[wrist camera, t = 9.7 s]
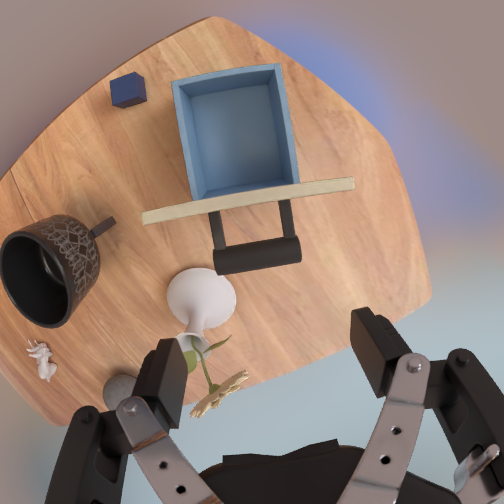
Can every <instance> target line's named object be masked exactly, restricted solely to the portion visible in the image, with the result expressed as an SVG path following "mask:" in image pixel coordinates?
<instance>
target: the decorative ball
mask: <svg viewBox="0 0 504 504" xmlns="http://www.w3.org/2000/svg"><path fill="white" fill-rule="evenodd" d="M136 380H137V379H136V378H135V377H133V376H130V375H127V374H118V375H115V376H112V377H111V378H110V379H108V380H107V382H106V383H105V385H104V388H103V399H104V402H105V404H106V406H107V408H108V409H109V410H110V411H112V410H116V408H117V406H118V404H119V403H120V402H121V401H122V400H124V399H125V398H128V397H131V394H132V391H133V388H134V385H135V383H136Z"/></svg>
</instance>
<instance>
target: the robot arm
mask: <svg viewBox="0 0 504 504" xmlns="http://www.w3.org/2000/svg"><path fill="white" fill-rule="evenodd" d="M350 341H351V346H352V348H353V351H354V352H355V354H356V356H357V358H358V360H359V362H360V364H361V366H362V368H363V370H364V372H365V374H366V377H367V379H368V381H369V383H370V385H371V387H372V389H373V391H374V393H375V395H376V397H377V398H381V397H383V396H386V399H385V402H384V405H383V408H382V410H381V413H380V415H379V418H378V421H377V423H376V426H375V428H374V431H373V433H372V435H371V438H370V440H369V442H368V444H367V447H366V449H363V448H360V447H356V446H349V445H348V446H347V445H339V444H338V441H337V439H333V440H329V441H325V442H320V443H316V444H311V445H308V446H306V447H303V448H301V449H298V450H296V451H293V452H290V453H288V454H285V455H282V456H272V455H260V454H239V455H223V463H219V464H216V465H214V466H211V467H209V468H208V469H206V470H204V471H202V472H201V473H200V474H198V472H197V471H196V470H195V469H194V468H193V466H192V465H191V464H190V463H189V461H188V460H187V459H186V458H185V456H184V455H183V454H182V453H181V451H180V450H179V449H178V448H177V446H176V445H175V443H174V442H173V440H172V439H171V438H170V436H169V430H170V429H178V428H179V421H180V416H181V410H182V404H183V398H184V393H185V387H186V381H187V376H188V366H187V362H186V360H185V357H184V355H183V352H182V350H181V347H180V345H179V342H178V340H177V338H168V339H160V340H159V343H158V345H157V348H156V350H151V351H150V352H149V354H148V355H147V356H146V357H145V358H144V361H143V364H142V367H141V369H140V372H139V373H140V374H138V377H137V380H136V383H135V385H134V388H133V391H132V394H131V397H128V398H125V399H124V400H122V401H121V402H120V403H119V404H118V406H117V408H116V410H112V411H107V412H102V413H100V412H99V411H98V410H97V408H95V407H94V406H84V407H81V408H80V409H78V410H77V411H76V412H75V413H74V415H73V418H72V420H71V423H70V425H69V428H68V431H67V433H66V436H65V439H64V442H63V445H62V447H61V450H60V453H59V456H58V459H57V462H56V465H55V469H54V471H53V475H52V478H51V482H50V485H49V489H48V492H47V496H46V500H45V504H120V502H121V496H122V488H123V483H124V476H125V471H126V465H127V459H128V454H133V456H134V457H135V459H136V461H137V463H138V465H139V466H140V468H141V470H142V471H143V473H144V474H145V476H146V478H147V480H148V481H149V483H150V484H151V486H152V488H153V489H154V491H155V492H156V494H157V495H158V497H159V498H160V500H161V501H162V503H163V504H491V503H493V502H494V501H496V500H497V499H499V498H500V497H502V496H503V495H504V395H503V393H502V392H501V390H500V389H499V387H498V386H497V385H496V383H495V382H494V381H493V379H492V378H491V376H490V375H489V374H488V372H487V371H486V369H485V368H484V367H483V365H482V364H481V363H480V362H479V360H478V359H477V358H476V356H475V355H474V354H473V353H472V352H471V351H469V350H467V349H462V348H459V349H455V350H453V351H451V352H450V353H449V355H448V358H447V359H446V360H438V361H429V360H428V359H427V358H426V357H425V356H423V355H421V354H418V353H413V352H412V351H411V349H410V348H409V346H408V345H407V344H406V342H405V341H404V340H403V338H402V337H401V336H400V334H398V332H397V331H396V329H395V328H394V326H393V325H392V324H391V322H390V321H389V320H388V319H387V318H385V317H383V316H382V315H380V314H379V315H376V316H375V315H374V314H373V312H372V311H371V310H370V308H369V307H363V308H359V309H355V310H352V312H351V328H350ZM431 408H432V409H433V411H434V413H435V415H436V417H437V419H438V421H439V423H440V425H441V427H442V428H443V431H444V433H445V435H446V437H447V440H448V442H449V444H450V446H451V448H452V451H453V453H454V455H455V457H456V460H457V462H458V464H459V466H458V467H457V468H456V470H455V473H454V482H455V489H454V492H453V491H451V490H449V489H447V488H444V487H442V486H439V485H437V484H435V483H432V482H430V481H428V480H426V479H423V478H421V477H419V476H417V475H415V474H413V473H411V472H408V471H406V470H407V467H408V465H409V462H410V459H411V456H412V453H413V450H414V446H415V443H416V440H417V436H418V433H419V429H420V425H421V421H422V417H423V413H424V409H431Z"/></svg>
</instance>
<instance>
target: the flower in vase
mask: <svg viewBox="0 0 504 504" xmlns="http://www.w3.org/2000/svg"><path fill="white" fill-rule="evenodd" d="M167 301H168V305H169V308H170V310H171V312H172V313H173V315H174V316H175V317H176V318H177V319H178V320H179V321H180V322H182V323H183V324H185V325H187V327H186V330H185V331H184V333H180V334H178V335H177V336H176V337H175V338H177V340H178V342H179V345H180V347H181V350H182V352H183V355H184V357H185V360H186V362H187V366H188V373H190V372H192V371H193V370H194V369H195V368H196V367H197V362H199V361H201V362H202V366H203V369H204V373H205V376H206V378H207V381H208V384H209V386H210V387H209V394H208V395H207V396H206V397H204V398H203V399H202V400H201V401H200V402H199V403H198V404H197V405H196V406H195V407H194V409H193V410H192V411H191V413H190V415H191V418H192V417H193V416H195V417H196V416H197V418H200V417H201V416H203V415H204V413H205V412H206V411H207V410H208V408H209V407H210V406H211V408H212V409H215V408H216V407H218V406H219V405H220V403H221V400H222V399H223V398H224V397H225V396H227V394H229V393H232V392H234V391H236V390H238V389H239V388H240V387H241V385H237V384H238V383H240V382H242V381H244V380H245V379H247V378H248V377H249V376H250V375H247V374H246V373H247V372H248V371H246V370H243V371H241V372H239V373H237V374H235V375H234V376H232V377H231V378H229V379H228V380H226V381H225V382H223V383H222V384H221V385H217V384H213V385H212V383H211V381H210V378H209V375H208V372H207V369H206V366H205V362H204V359H206V358H207V357H208V356H209V354H210V352H211V350H212V349H215V348H217V347H219V346H221V345H222V344H224V343H225V342H226V341H227V340H228V339H229V338H230V336H231V335H232V334H231V335H230V336H229V337H228V338H227V339H226V340H224V341H221V342H219V343H216V344H214V345H212V346H210V344H209V342H208V341H207V340H206V339H205V338H204V336H203V329H211V328H215V327H218V326H220V325H222V324H223V323H225V322H226V321H227V320H228V319H229V318H230V316H231V315H232V314H233V312H234V309H235V306H236V294H235V291H234V289H233V287H232V285H231V283H230V282H229V281H228V280H227V279H226V278H225V277H224V276H218V275H217V273H216V271H213V270H210V269H206V268H191V269H187V270H184V271H182V272H180V273H179V274H178V275H176V276H175V277H174V278H173V279H172V281H171V282H170V284H169V287H168V290H167Z"/></svg>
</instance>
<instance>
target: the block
mask: <svg viewBox="0 0 504 504" xmlns="http://www.w3.org/2000/svg"><path fill="white" fill-rule="evenodd" d="M110 89H111V98H112V105H113V106H116V107H119V108H123V109H124V108H127V107H130V106H133V105H136V104H139V103H142V102H145V101H147V98H146V91H145V83H144V78H143V77H142V76H140V75H139V74H137V73H136V72H133V73H130V74H127V75H124V76H122V77H119V78H116V79H114V80H111V81H110Z"/></svg>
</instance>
